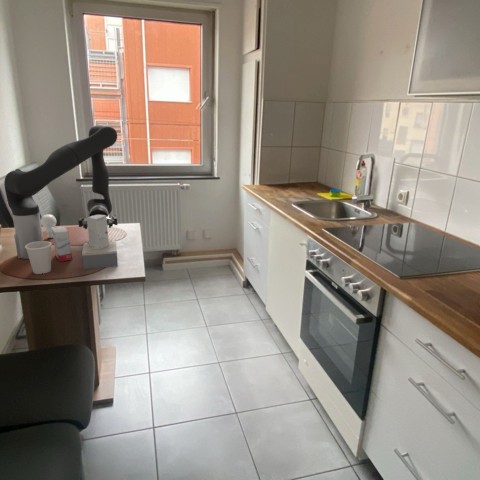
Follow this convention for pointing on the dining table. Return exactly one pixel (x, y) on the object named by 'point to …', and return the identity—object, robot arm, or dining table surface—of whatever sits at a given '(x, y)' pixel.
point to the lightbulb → (48, 224)
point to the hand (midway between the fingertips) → (97, 226)
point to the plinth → (99, 256)
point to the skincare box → (97, 231)
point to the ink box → (62, 243)
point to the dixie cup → (40, 256)
